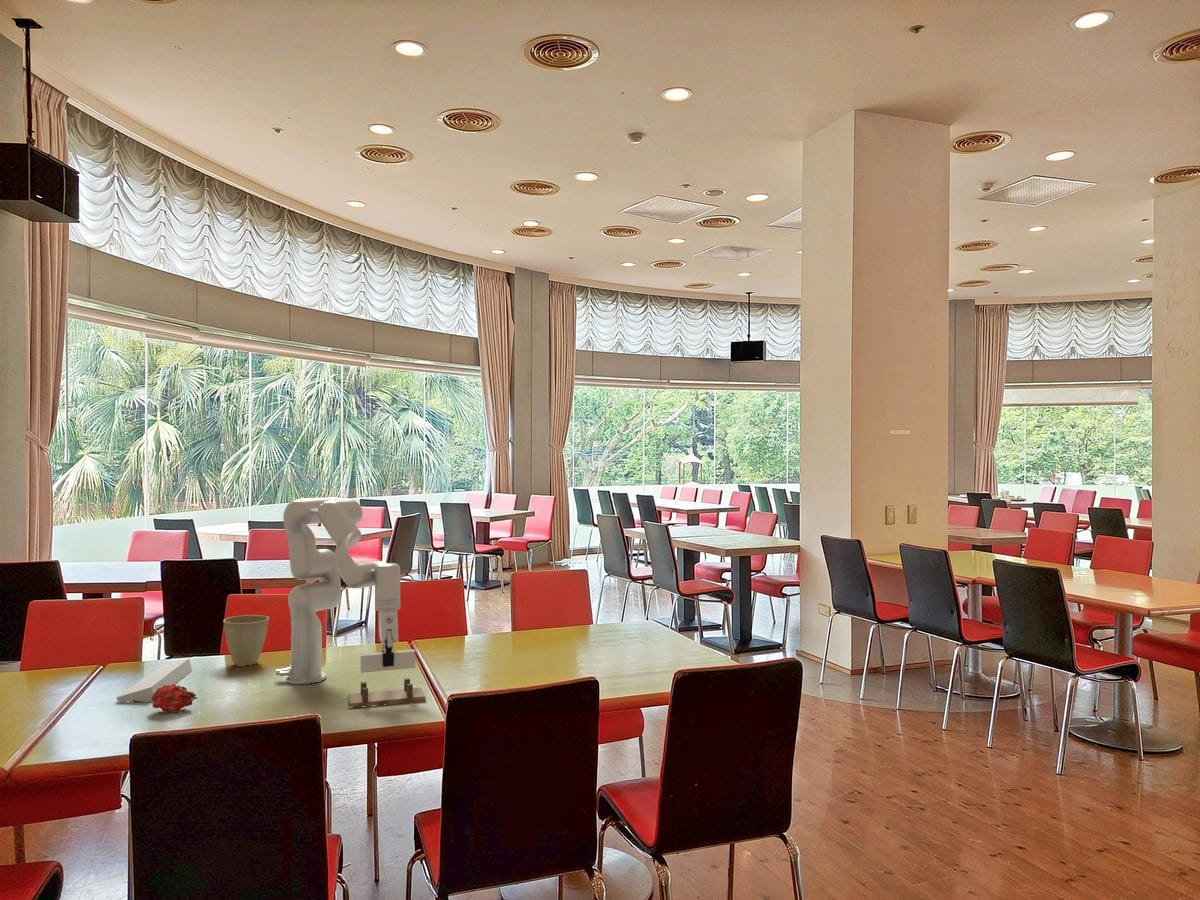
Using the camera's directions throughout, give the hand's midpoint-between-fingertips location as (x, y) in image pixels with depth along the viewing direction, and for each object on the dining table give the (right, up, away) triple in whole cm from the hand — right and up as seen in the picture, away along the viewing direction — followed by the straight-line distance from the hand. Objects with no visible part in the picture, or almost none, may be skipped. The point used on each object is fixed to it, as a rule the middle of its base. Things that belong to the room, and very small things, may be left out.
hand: (387, 664), depth 244 cm
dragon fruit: (-59, -11, -12) cm, 61 cm away
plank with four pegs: (0, -11, 0) cm, 11 cm away
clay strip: (0, -1, 0) cm, 1 cm away
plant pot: (-61, -11, +41) cm, 74 cm away
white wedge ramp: (-78, -11, +13) cm, 79 cm away
